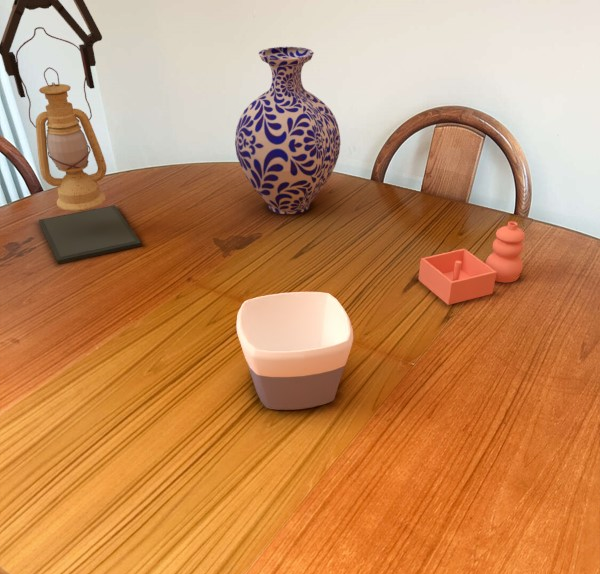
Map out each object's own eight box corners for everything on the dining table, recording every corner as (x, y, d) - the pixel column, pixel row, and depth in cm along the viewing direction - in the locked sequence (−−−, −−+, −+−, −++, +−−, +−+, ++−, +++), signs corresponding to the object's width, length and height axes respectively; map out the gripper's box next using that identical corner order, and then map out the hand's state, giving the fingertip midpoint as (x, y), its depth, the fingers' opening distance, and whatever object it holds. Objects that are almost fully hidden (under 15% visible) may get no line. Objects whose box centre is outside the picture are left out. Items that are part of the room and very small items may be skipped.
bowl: (335, 349, 101) (338, 285, 94) (359, 413, 89) (364, 346, 82) (236, 360, 99) (230, 295, 92) (247, 427, 87) (242, 359, 80)
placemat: (58, 264, 123) (57, 259, 122) (39, 223, 136) (38, 219, 136) (141, 246, 128) (141, 241, 127) (115, 208, 142) (114, 204, 141)
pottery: (448, 305, 111) (456, 251, 104) (418, 279, 117) (424, 228, 111) (533, 282, 116) (546, 231, 110) (500, 259, 123) (511, 209, 117)
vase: (219, 204, 143) (205, 52, 124) (292, 178, 154) (290, 35, 135) (284, 236, 131) (281, 73, 112) (358, 206, 142) (367, 53, 123)
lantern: (110, 187, 133) (76, 18, 113) (115, 206, 125) (78, 29, 106) (49, 195, 130) (2, 23, 111) (50, 215, 123) (0, 35, 103)
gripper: (-59, -55, 94) (-12, 105, 108) (104, -63, 102) (128, 87, 116) (-62, -60, 99) (-17, 94, 113) (93, -67, 108) (117, 77, 122)
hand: (56, 91), depth 115 cm, fingers closed on lantern, 11 cm apart
